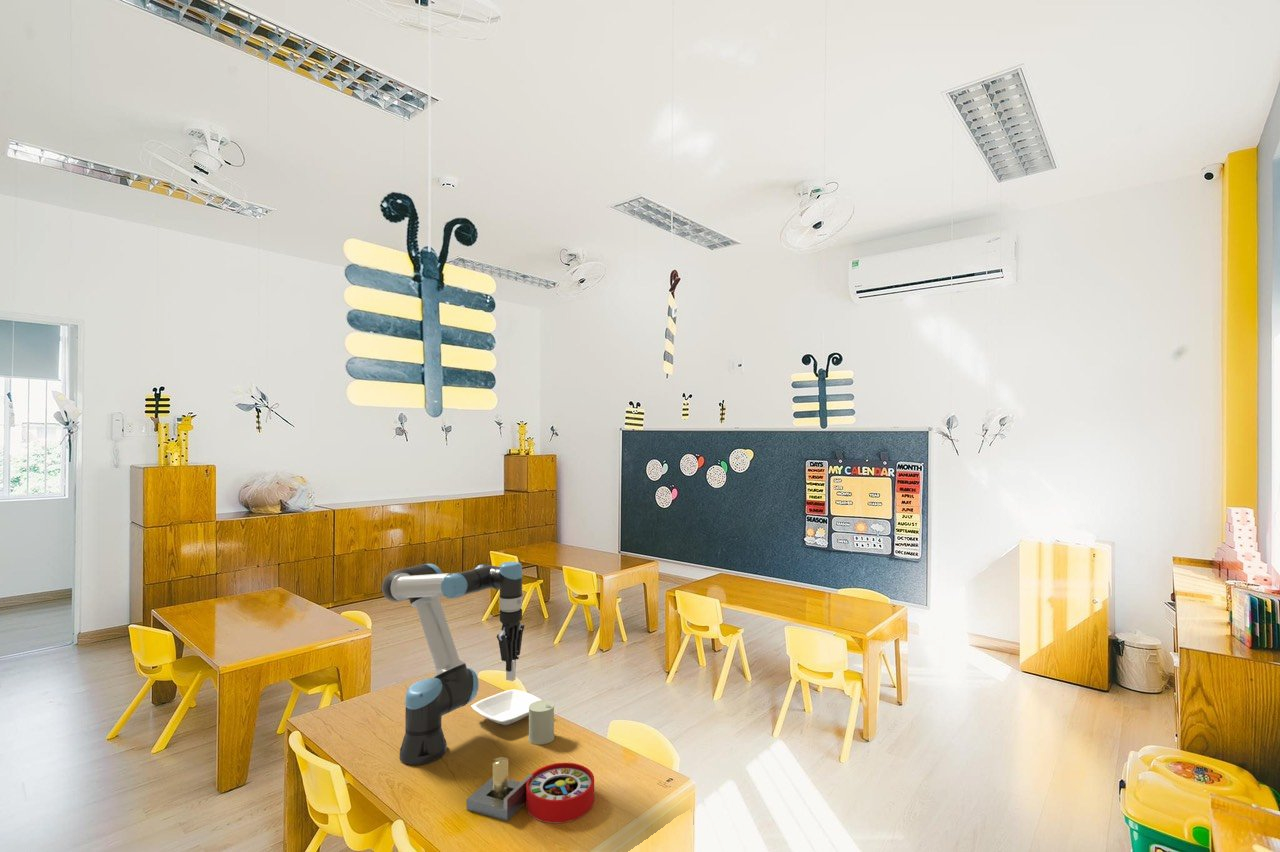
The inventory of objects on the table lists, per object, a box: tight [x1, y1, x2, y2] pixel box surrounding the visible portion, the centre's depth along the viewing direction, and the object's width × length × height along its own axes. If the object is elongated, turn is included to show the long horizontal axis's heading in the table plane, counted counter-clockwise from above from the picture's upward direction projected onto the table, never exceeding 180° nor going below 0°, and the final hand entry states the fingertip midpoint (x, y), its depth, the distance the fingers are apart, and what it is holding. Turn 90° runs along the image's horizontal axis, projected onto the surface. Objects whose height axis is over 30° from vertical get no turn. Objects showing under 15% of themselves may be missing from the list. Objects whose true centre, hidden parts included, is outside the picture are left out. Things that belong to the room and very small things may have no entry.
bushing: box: [492, 756, 509, 800], centre depth 172 cm, size 4×4×12 cm
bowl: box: [470, 688, 542, 726], centre depth 225 cm, size 22×23×6 cm
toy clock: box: [525, 762, 595, 824], centre depth 172 cm, size 20×6×20 cm
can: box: [528, 699, 555, 746], centre depth 210 cm, size 9×9×12 cm
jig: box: [466, 774, 533, 822], centre depth 172 cm, size 14×13×6 cm
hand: (510, 679), depth 196 cm, fingers closed
